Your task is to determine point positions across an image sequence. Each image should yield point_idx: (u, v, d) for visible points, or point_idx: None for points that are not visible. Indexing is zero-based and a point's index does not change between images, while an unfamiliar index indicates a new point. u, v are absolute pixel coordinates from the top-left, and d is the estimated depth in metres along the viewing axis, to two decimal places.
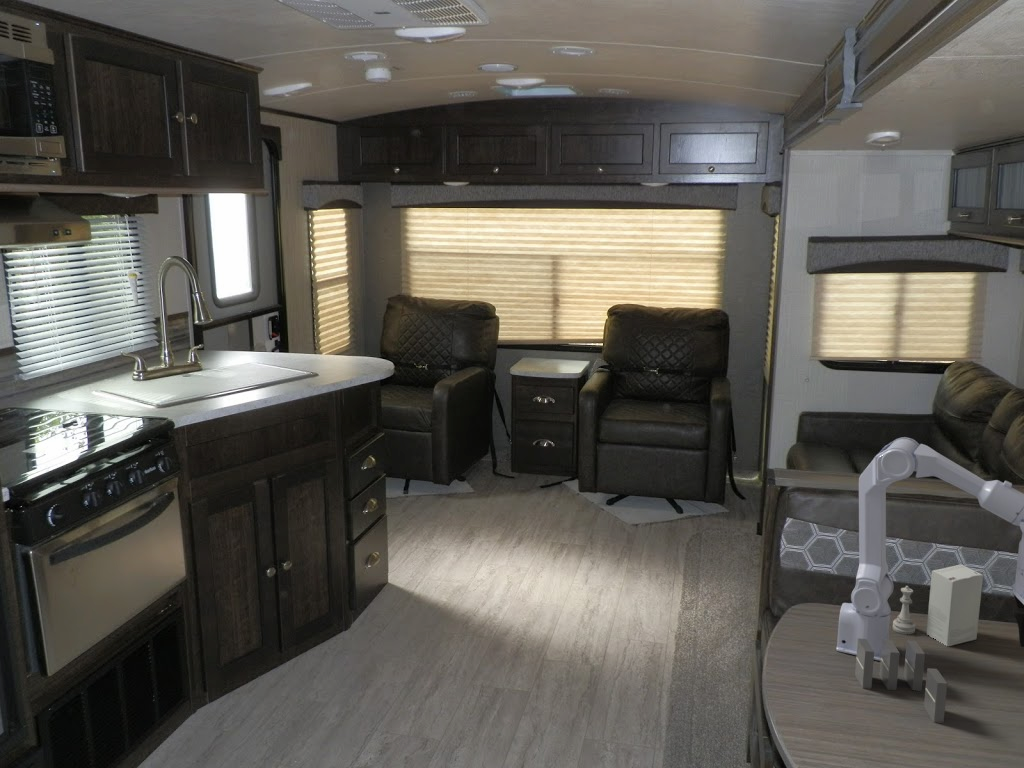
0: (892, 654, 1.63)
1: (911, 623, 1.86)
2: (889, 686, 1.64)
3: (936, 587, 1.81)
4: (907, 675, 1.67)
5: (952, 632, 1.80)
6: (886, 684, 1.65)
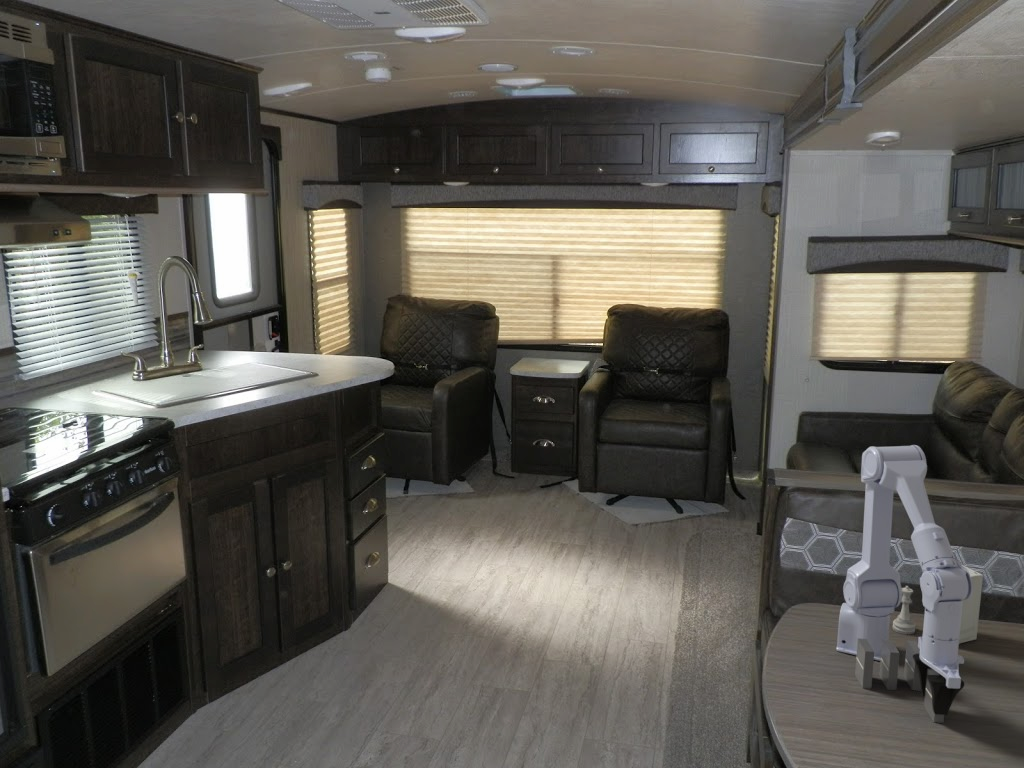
0: (892, 654, 1.63)
1: (911, 623, 1.86)
2: (889, 686, 1.64)
3: None
4: (907, 675, 1.67)
5: None
6: (886, 684, 1.65)
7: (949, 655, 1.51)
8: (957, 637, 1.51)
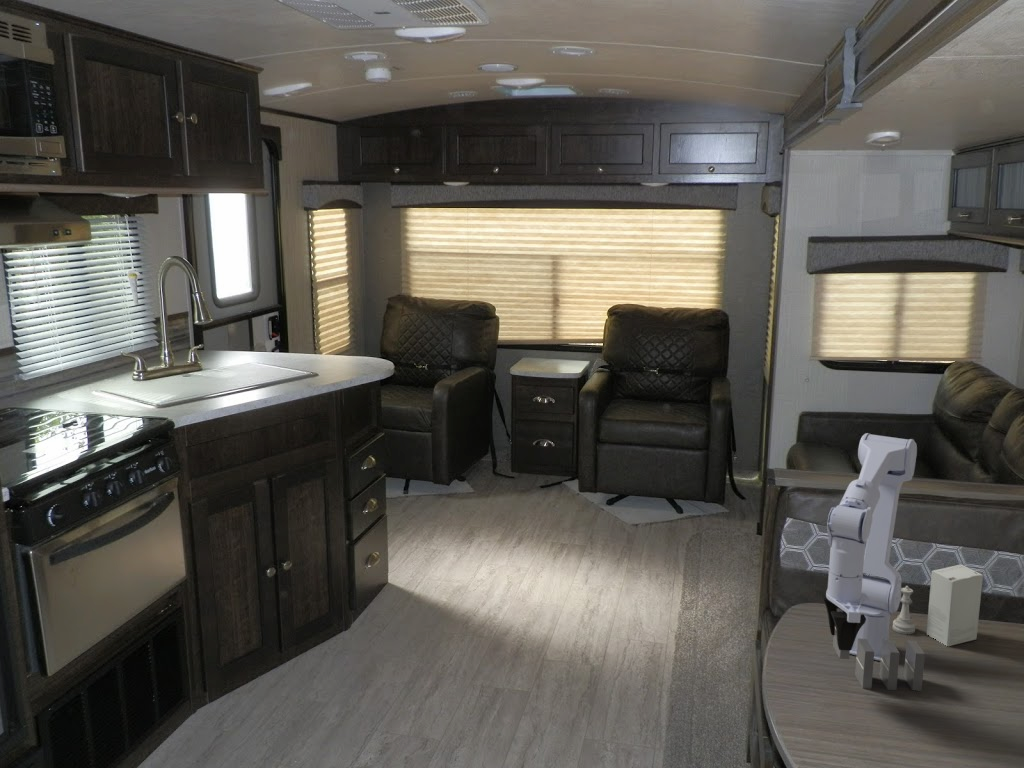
0: (892, 654, 1.63)
1: (911, 623, 1.86)
2: (889, 686, 1.64)
3: (936, 587, 1.81)
4: (907, 675, 1.67)
5: (952, 632, 1.80)
6: (886, 684, 1.65)
7: (852, 592, 1.56)
8: (850, 576, 1.55)
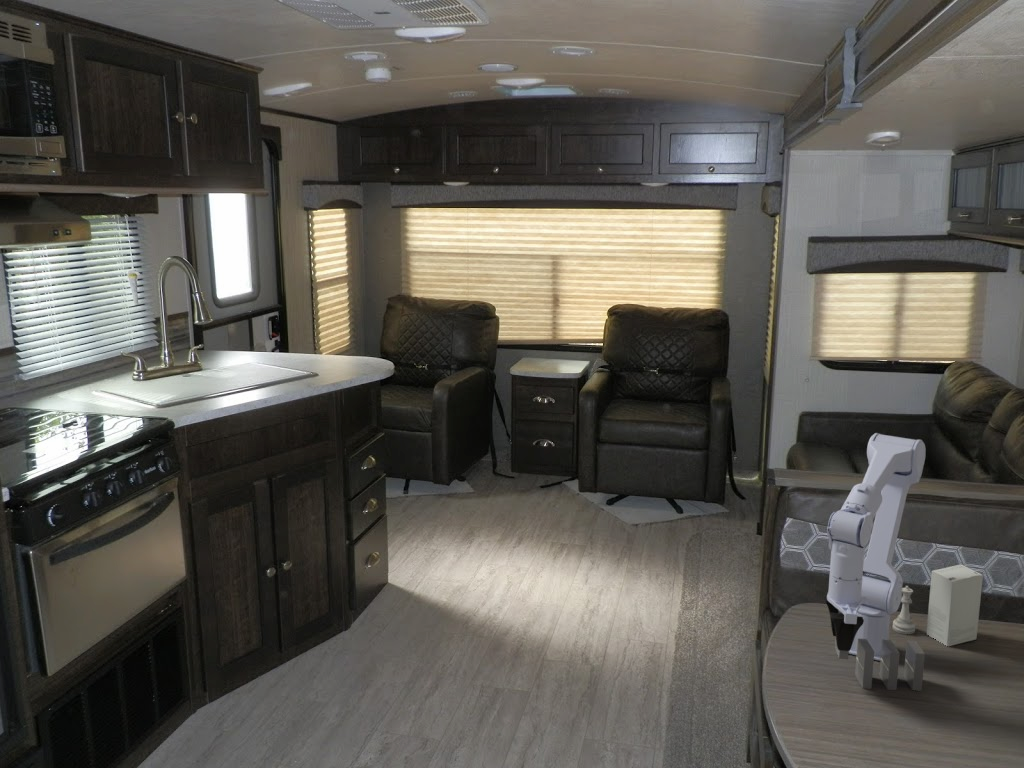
0: (892, 654, 1.63)
1: (911, 623, 1.86)
2: (889, 686, 1.64)
3: (936, 587, 1.81)
4: (907, 675, 1.67)
5: (952, 632, 1.80)
6: (886, 684, 1.65)
7: (851, 594, 1.61)
8: (849, 579, 1.61)
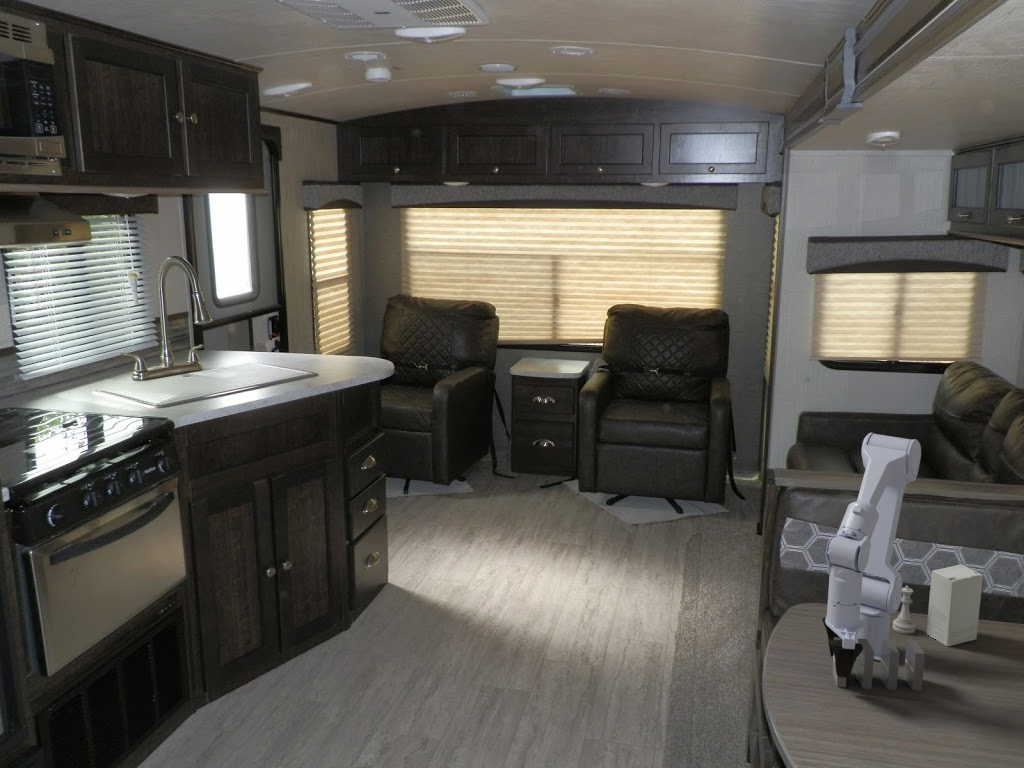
0: (892, 654, 1.63)
1: (911, 623, 1.86)
2: (889, 686, 1.64)
3: (936, 587, 1.81)
4: (907, 675, 1.67)
5: (952, 632, 1.80)
6: (886, 684, 1.65)
7: (849, 619, 1.62)
8: (847, 603, 1.61)
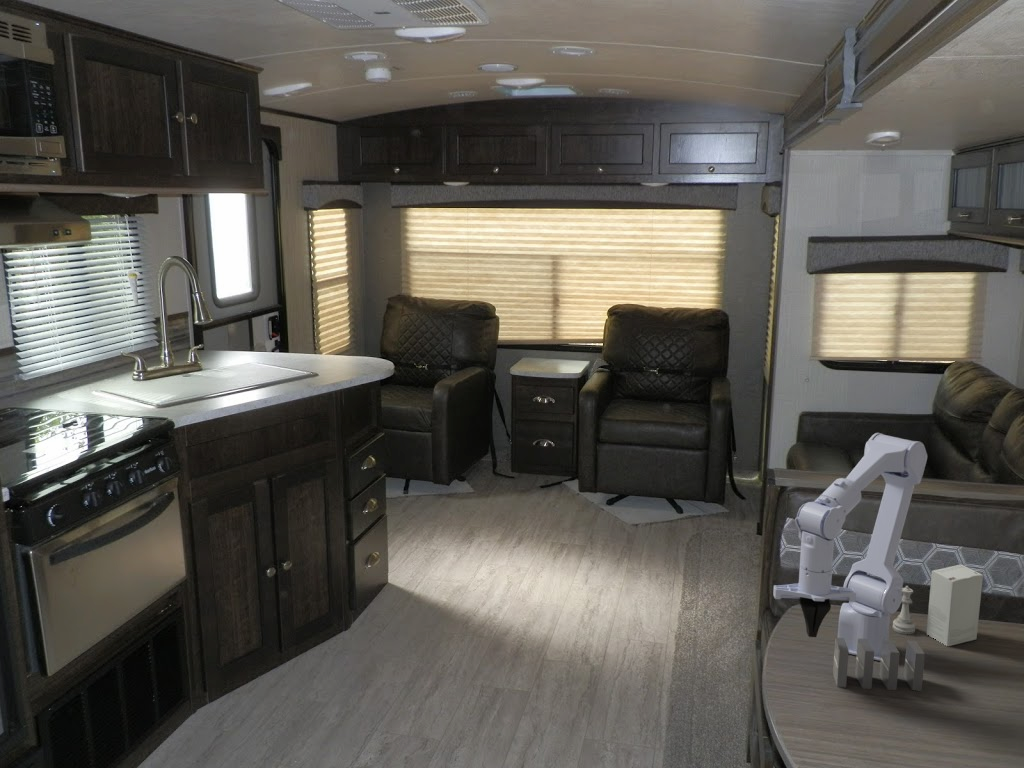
0: (892, 654, 1.63)
1: (911, 623, 1.86)
2: (889, 686, 1.64)
3: (936, 587, 1.81)
4: (907, 675, 1.67)
5: (952, 632, 1.80)
6: (886, 684, 1.65)
7: (800, 580, 1.64)
8: (814, 570, 1.61)
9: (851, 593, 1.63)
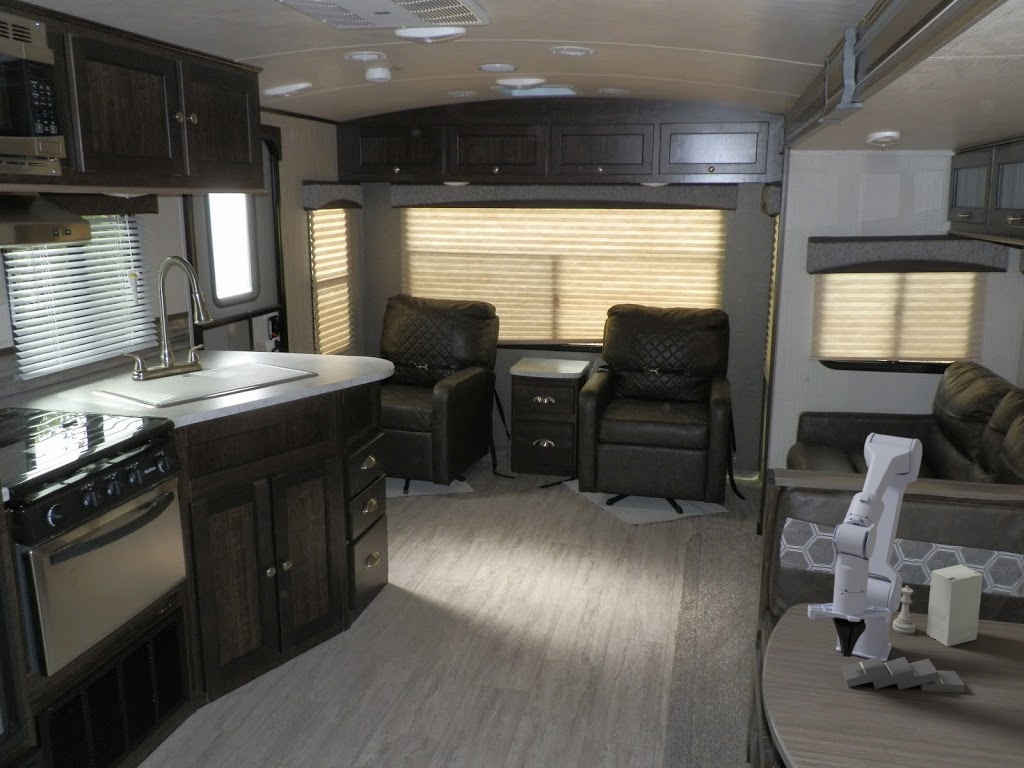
0: (936, 674, 1.63)
1: (911, 623, 1.86)
2: (900, 683, 1.64)
3: (936, 587, 1.81)
4: None
5: (952, 632, 1.80)
6: None
7: (835, 600, 1.64)
8: (854, 591, 1.61)
9: (886, 613, 1.63)
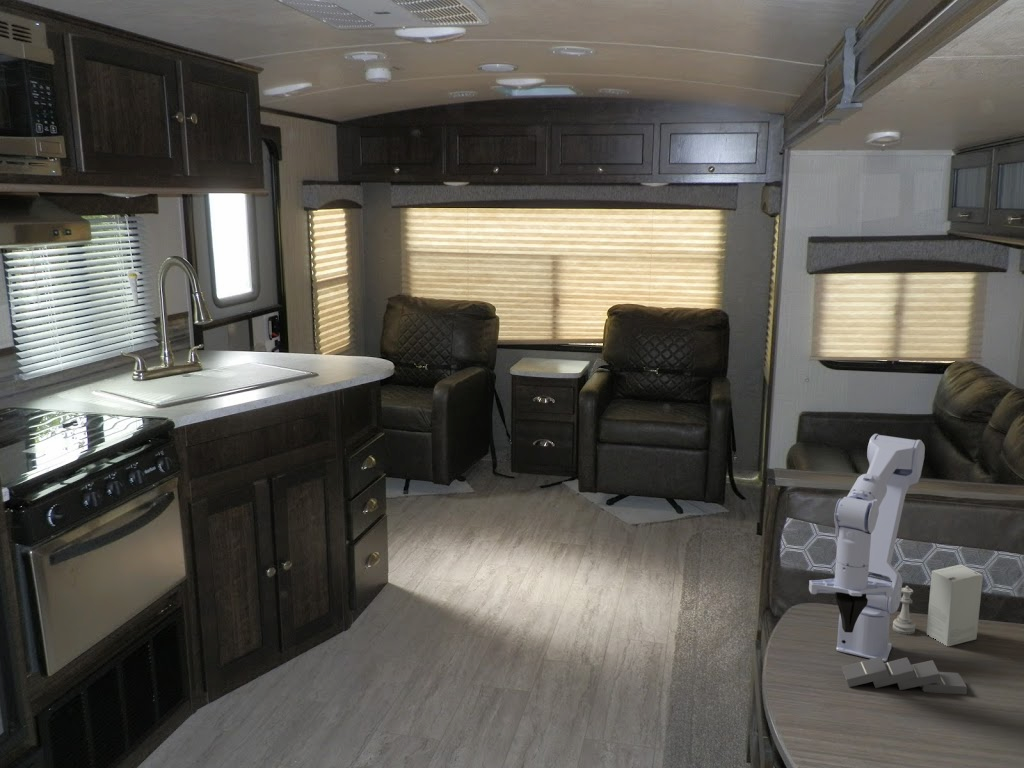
0: (938, 676, 1.62)
1: (911, 623, 1.86)
2: (901, 683, 1.64)
3: (936, 587, 1.81)
4: None
5: (952, 632, 1.80)
6: None
7: (836, 575, 1.63)
8: (856, 565, 1.60)
9: (888, 588, 1.62)
